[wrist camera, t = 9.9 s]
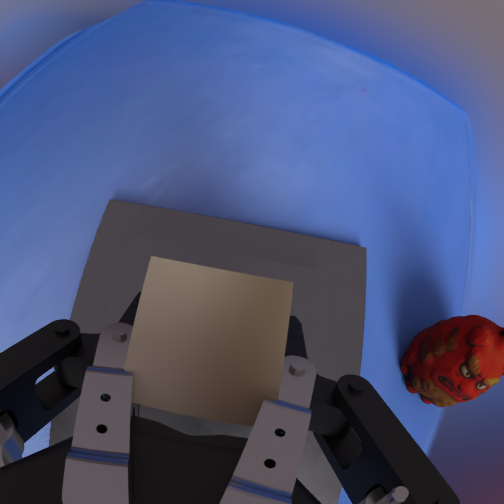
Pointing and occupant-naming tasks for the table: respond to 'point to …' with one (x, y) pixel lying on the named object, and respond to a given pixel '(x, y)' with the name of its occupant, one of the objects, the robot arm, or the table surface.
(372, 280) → the table surface
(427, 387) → the red clay folk toy
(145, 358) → the maple block
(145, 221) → the socket plate
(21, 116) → the table surface
